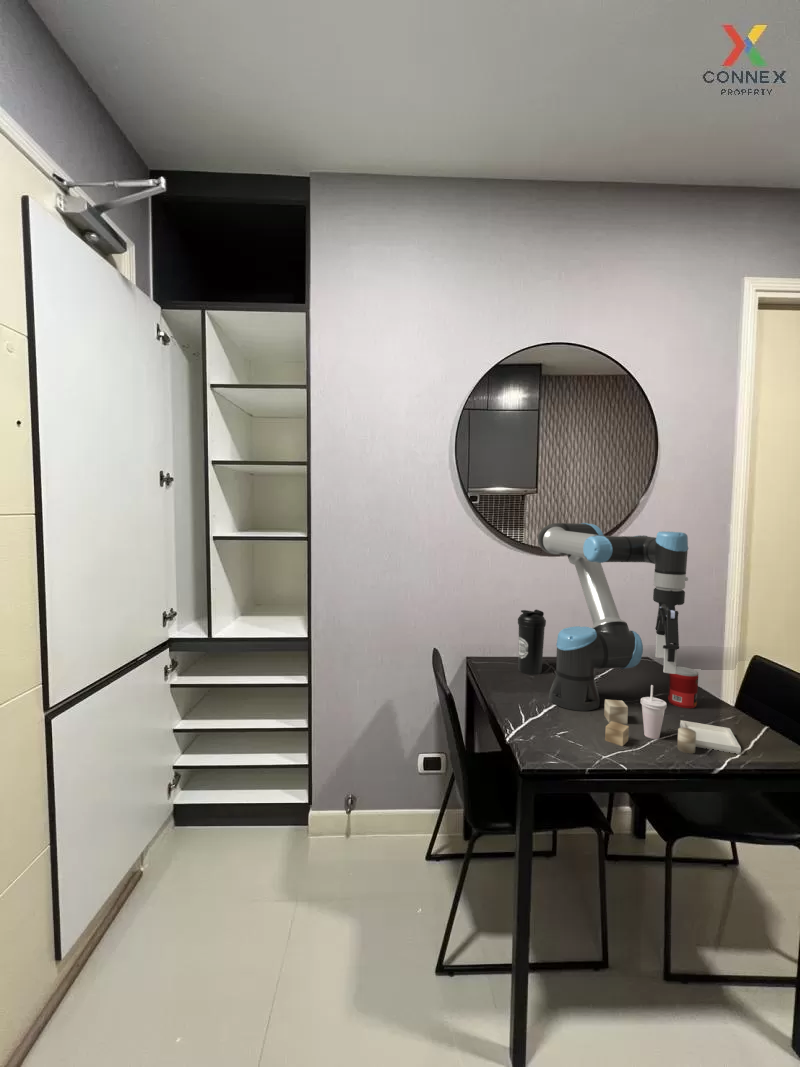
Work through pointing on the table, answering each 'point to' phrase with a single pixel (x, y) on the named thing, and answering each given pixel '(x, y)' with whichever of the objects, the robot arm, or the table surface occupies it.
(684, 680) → the canned food
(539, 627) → the water bottle
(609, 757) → the table surface
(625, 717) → the birch cube
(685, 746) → the birch dowel
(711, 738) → the tray
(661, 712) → the smoothie
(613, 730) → the oak block
